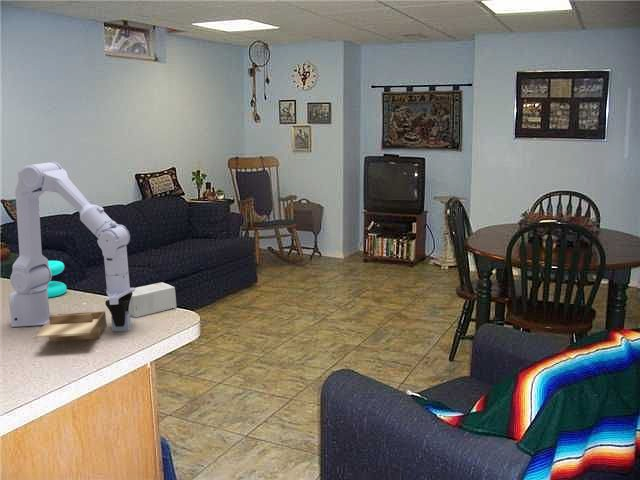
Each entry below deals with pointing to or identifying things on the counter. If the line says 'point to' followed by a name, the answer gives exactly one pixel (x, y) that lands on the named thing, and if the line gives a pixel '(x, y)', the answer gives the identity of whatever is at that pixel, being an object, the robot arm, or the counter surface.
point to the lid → (68, 325)
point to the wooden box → (95, 332)
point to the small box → (152, 299)
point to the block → (126, 325)
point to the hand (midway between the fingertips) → (121, 323)
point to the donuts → (55, 286)
